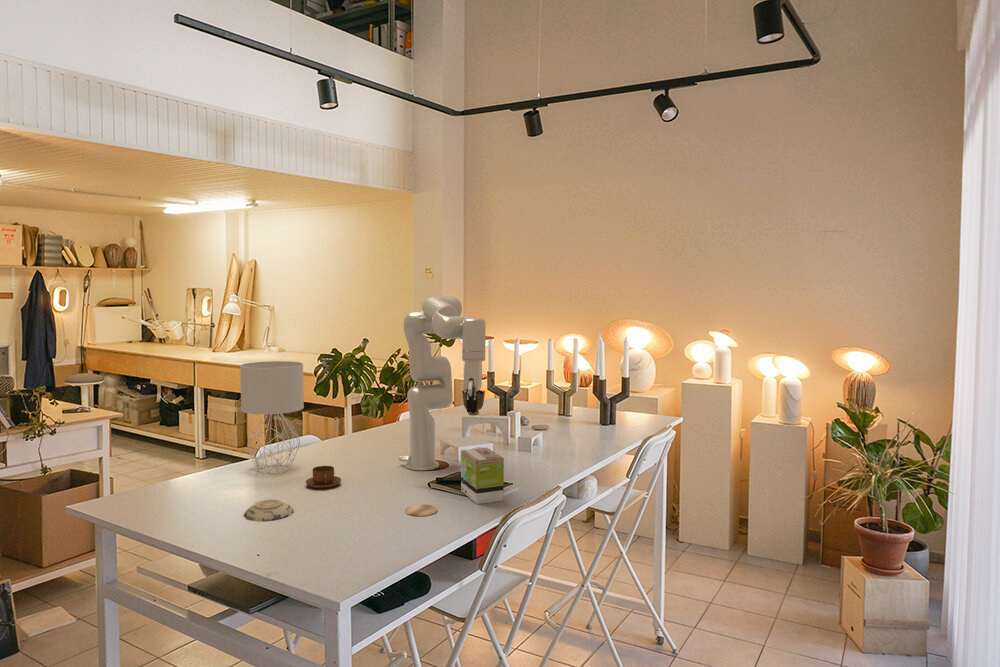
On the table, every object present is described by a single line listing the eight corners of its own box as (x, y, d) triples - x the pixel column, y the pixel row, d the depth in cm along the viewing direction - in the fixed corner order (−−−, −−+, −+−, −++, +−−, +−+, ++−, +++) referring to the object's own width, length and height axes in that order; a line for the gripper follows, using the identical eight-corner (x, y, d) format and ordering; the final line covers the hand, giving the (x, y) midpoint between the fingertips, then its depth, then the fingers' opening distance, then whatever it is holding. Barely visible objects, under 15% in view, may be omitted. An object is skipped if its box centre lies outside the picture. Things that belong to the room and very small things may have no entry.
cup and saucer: (347, 486, 245) (347, 469, 245) (315, 493, 237) (315, 475, 237) (331, 479, 254) (330, 462, 254) (299, 485, 246) (299, 467, 246)
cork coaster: (401, 515, 214) (401, 514, 214) (408, 505, 224) (408, 503, 224) (434, 516, 213) (434, 515, 213) (440, 506, 223) (440, 505, 223)
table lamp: (237, 479, 253) (235, 368, 250) (247, 463, 275) (245, 361, 272) (302, 476, 257) (300, 367, 254) (306, 460, 279) (305, 360, 276)
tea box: (459, 492, 239) (460, 449, 238) (487, 488, 243) (487, 446, 242) (475, 504, 225) (476, 459, 224) (504, 501, 229) (505, 456, 228)
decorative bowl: (304, 514, 217) (276, 503, 226) (304, 502, 216) (276, 492, 226) (260, 527, 205) (233, 515, 215) (260, 515, 205) (232, 504, 214)
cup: (473, 412, 236) (473, 388, 235) (489, 414, 231) (489, 390, 230) (457, 414, 230) (457, 390, 230) (473, 417, 225) (473, 393, 225)
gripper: (466, 352, 238) (466, 404, 239) (457, 358, 221) (457, 414, 222) (488, 353, 237) (488, 405, 239) (481, 359, 220) (481, 415, 221)
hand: (473, 409), depth 230 cm, fingers closed on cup, 7 cm apart
